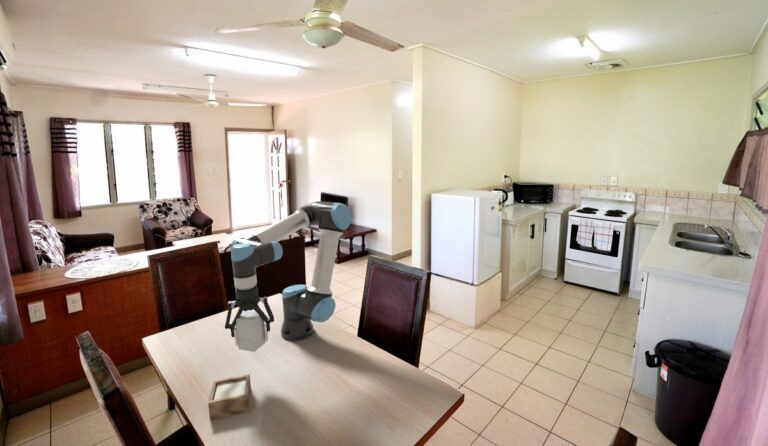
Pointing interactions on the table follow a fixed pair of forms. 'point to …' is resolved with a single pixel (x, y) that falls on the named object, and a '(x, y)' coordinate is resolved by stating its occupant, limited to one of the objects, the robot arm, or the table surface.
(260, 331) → the supplement box
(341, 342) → the table surface
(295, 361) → the table surface
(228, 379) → the brown square open box
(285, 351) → the table surface
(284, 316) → the robot arm
